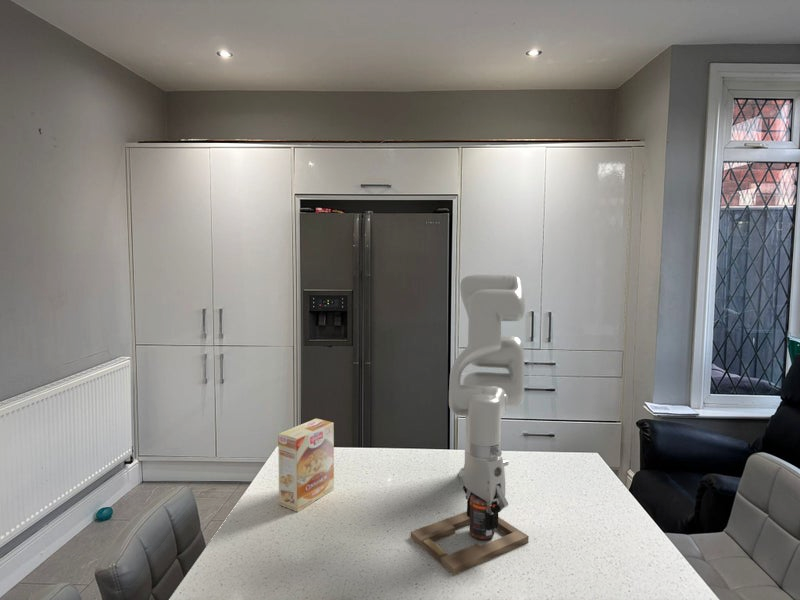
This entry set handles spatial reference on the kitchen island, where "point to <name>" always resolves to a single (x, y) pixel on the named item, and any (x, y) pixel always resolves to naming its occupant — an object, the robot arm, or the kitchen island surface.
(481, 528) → the supplement bottle
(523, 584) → the kitchen island surface
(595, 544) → the kitchen island surface
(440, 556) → the wooden frame
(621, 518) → the kitchen island surface
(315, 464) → the coffeecake box
